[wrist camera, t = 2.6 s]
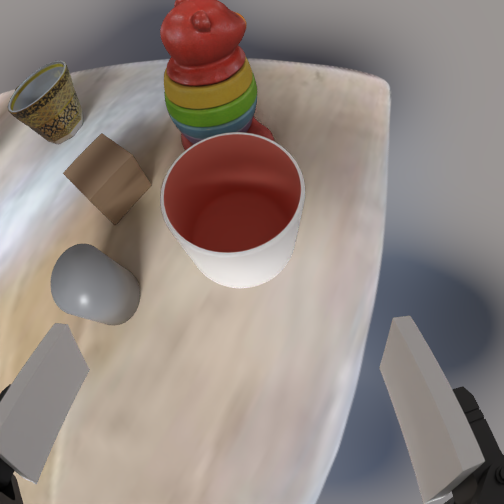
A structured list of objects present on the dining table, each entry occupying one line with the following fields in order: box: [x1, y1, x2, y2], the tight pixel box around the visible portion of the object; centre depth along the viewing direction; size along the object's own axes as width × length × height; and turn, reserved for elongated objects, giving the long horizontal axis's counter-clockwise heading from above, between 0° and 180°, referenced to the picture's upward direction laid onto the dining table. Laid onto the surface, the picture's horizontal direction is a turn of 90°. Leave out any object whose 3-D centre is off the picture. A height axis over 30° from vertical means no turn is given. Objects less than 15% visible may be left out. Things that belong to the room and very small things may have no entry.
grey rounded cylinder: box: [51, 244, 140, 325], centre depth 25 cm, size 6×6×7 cm
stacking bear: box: [160, 0, 275, 150], centre depth 26 cm, size 11×10×18 cm
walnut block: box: [63, 133, 152, 225], centre depth 30 cm, size 6×6×6 cm
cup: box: [160, 132, 305, 288], centre depth 25 cm, size 10×10×10 cm
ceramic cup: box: [8, 61, 83, 144], centre depth 33 cm, size 13×10×10 cm
